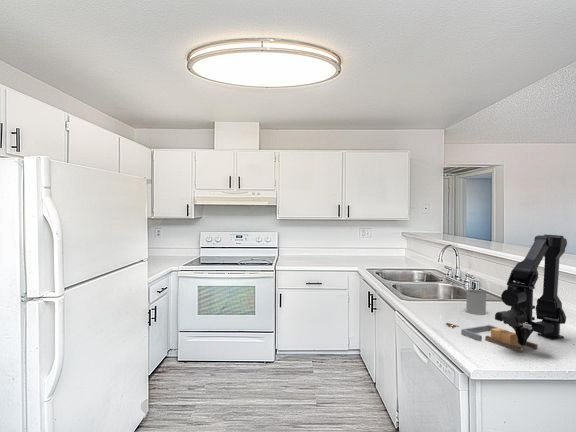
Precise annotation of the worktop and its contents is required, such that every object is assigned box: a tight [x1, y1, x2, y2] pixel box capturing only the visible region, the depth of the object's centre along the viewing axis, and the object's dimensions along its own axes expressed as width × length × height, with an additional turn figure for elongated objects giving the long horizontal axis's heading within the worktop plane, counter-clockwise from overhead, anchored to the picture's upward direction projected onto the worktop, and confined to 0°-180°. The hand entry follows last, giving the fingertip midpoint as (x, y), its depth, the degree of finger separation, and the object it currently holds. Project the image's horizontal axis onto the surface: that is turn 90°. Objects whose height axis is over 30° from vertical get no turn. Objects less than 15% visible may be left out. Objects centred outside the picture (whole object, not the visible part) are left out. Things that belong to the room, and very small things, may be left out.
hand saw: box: [445, 322, 460, 329], centre depth 181 cm, size 24×5×1 cm, turn 32°
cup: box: [465, 289, 487, 316], centre depth 195 cm, size 8×8×10 cm
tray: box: [460, 324, 508, 342], centre depth 161 cm, size 16×9×2 cm, turn 114°
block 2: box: [500, 330, 518, 346], centre depth 152 cm, size 4×4×4 cm
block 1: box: [490, 327, 507, 340], centre depth 155 cm, size 4×4×4 cm
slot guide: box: [484, 335, 538, 353], centre depth 151 cm, size 9×14×2 cm
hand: (522, 345), depth 147 cm, fingers closed
